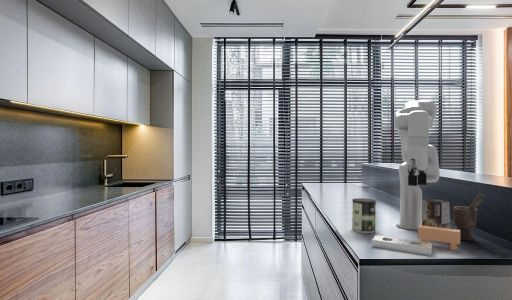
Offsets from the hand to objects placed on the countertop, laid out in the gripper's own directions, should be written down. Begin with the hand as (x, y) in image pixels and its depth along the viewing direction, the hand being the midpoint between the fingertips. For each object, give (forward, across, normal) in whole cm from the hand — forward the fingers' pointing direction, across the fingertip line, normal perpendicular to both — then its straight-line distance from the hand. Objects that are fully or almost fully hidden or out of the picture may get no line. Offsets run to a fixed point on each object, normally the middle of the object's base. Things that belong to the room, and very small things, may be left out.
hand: (417, 185), depth 127 cm
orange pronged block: (+23, -3, +7) cm, 24 cm away
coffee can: (+23, -4, -25) cm, 34 cm away
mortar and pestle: (+23, -24, +12) cm, 35 cm away
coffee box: (+23, -15, +2) cm, 28 cm away
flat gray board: (+23, +10, -2) cm, 26 cm away
